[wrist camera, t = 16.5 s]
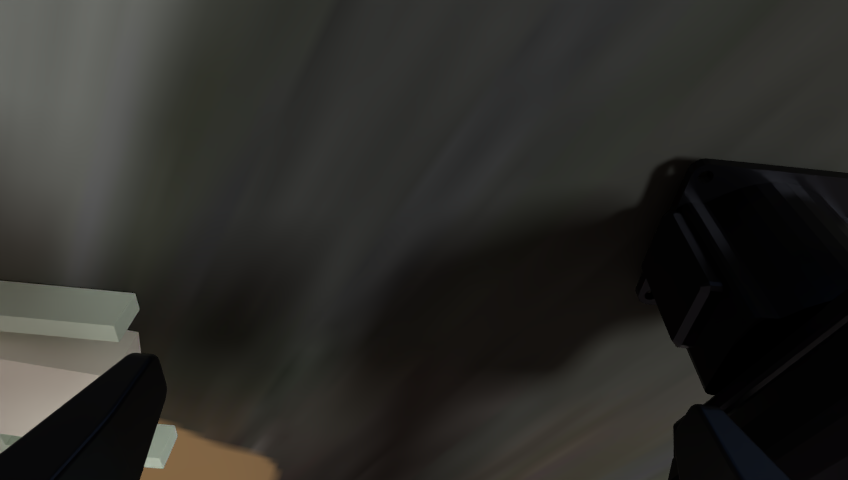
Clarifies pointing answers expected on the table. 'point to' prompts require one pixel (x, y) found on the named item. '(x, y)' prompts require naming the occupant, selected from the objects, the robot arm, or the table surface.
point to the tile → (50, 373)
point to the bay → (75, 331)
